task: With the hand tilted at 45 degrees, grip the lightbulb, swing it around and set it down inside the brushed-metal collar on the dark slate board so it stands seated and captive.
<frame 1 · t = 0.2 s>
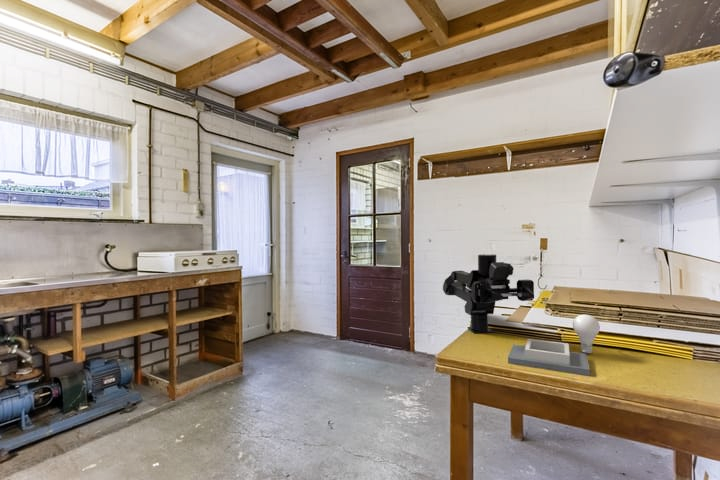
hand: (518, 297, 94), 17 cm above the workbench, tool horizontal, fingers open, 9 cm apart
lightbulb: (586, 354, 95), on the workbench
holder: (547, 361, 90), on the workbench
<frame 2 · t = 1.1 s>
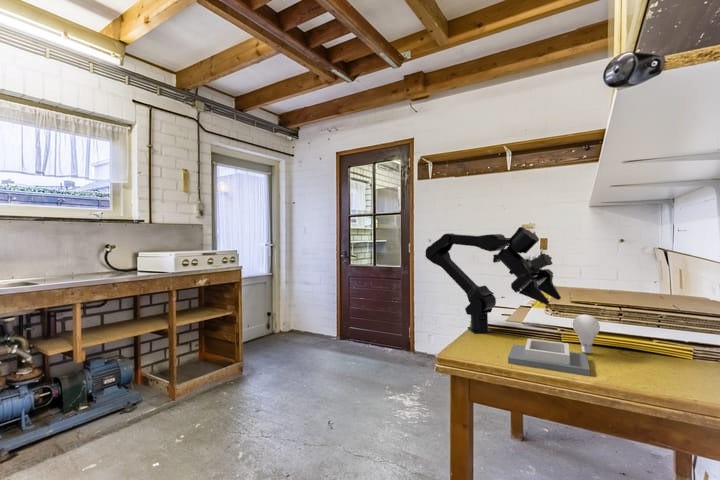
hand: (554, 301, 100), 14 cm above the workbench, tool tilted 45°, fingers open, 9 cm apart
nothing on the workbench moved.
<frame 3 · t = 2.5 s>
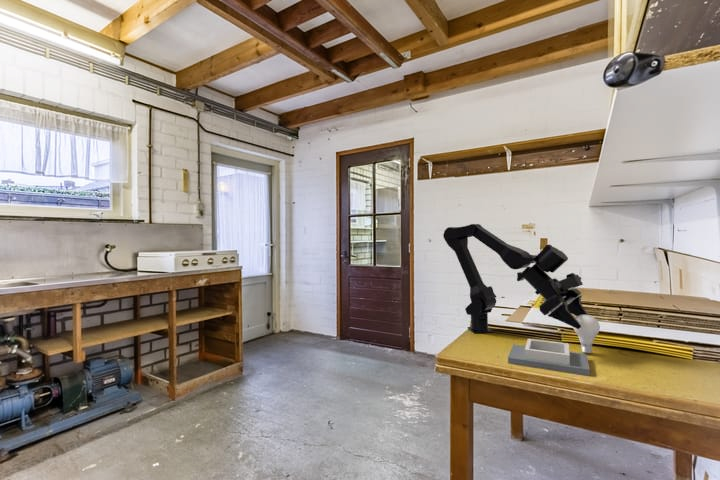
hand: (584, 324, 95), 8 cm above the workbench, tool tilted 45°, fingers open, 9 cm apart
nothing on the workbench moved.
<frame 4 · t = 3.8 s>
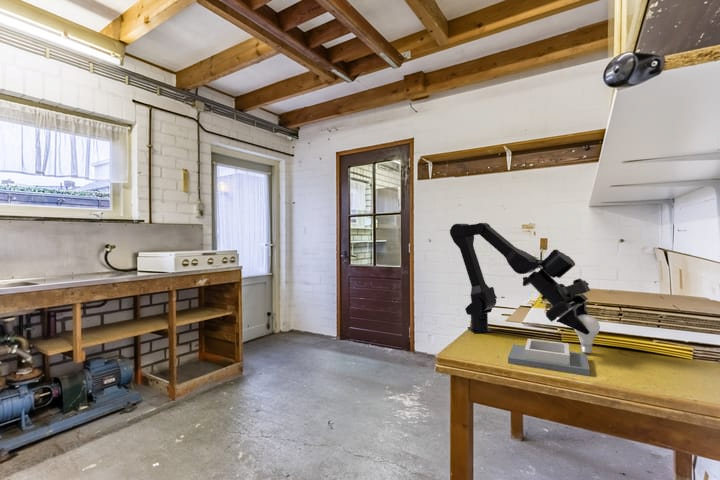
hand: (591, 331, 94), 7 cm above the workbench, tool tilted 45°, fingers closed on lightbulb, 6 cm apart
lightbulb: (586, 354, 95), on the workbench, touching gripper
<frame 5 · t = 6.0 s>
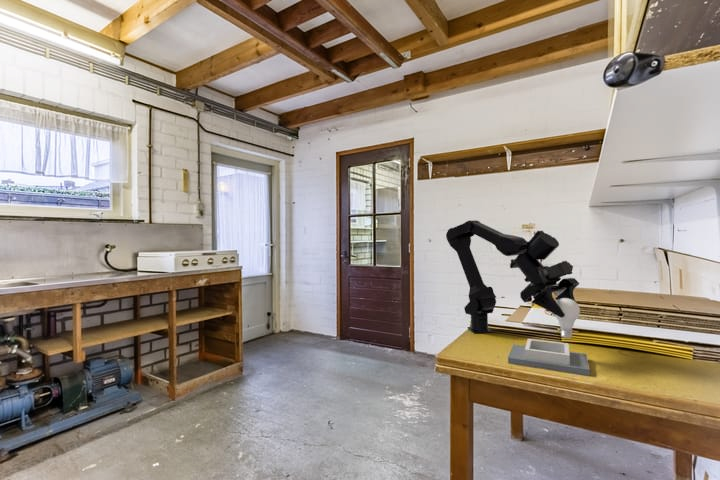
hand: (571, 315, 90), 12 cm above the workbench, tool tilted 45°, fingers closed on lightbulb, 6 cm apart
lightbulb: (566, 338, 91), point 5 cm above the workbench, touching gripper
when the fingers open (9 cm above the workbench, at t = 8.3 s): lightbulb stays where it is, resting on holder.
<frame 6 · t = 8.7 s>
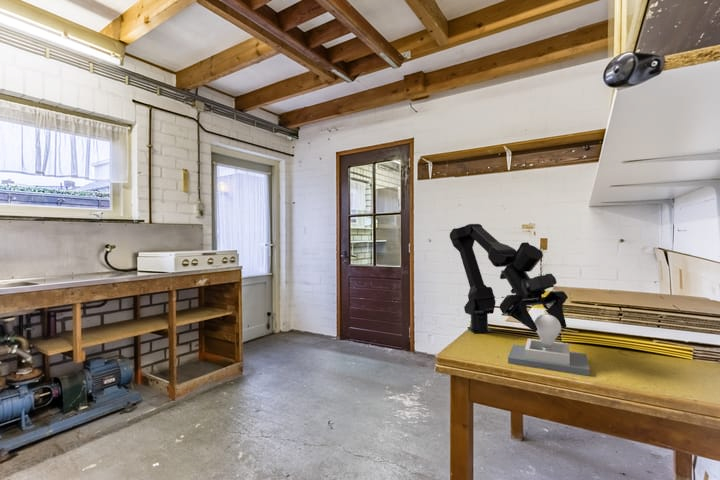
hand: (550, 329, 88), 9 cm above the workbench, tool tilted 45°, fingers open, 9 cm apart
lightbulb: (547, 356, 90), point 1 cm above the workbench, touching holder
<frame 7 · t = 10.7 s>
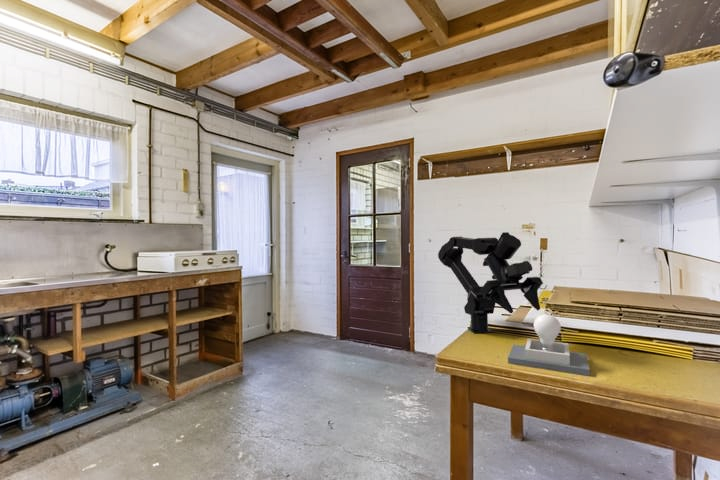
hand: (525, 311, 97), 12 cm above the workbench, tool tilted 45°, fingers open, 9 cm apart
nothing on the workbench moved.
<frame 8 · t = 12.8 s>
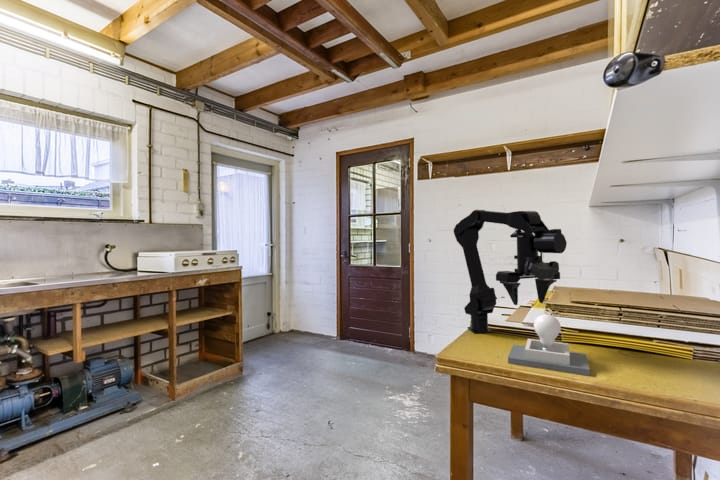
hand: (528, 303, 102), 13 cm above the workbench, tool pointing down, fingers open, 9 cm apart
nothing on the workbench moved.
at the end: lightbulb 0.3 cm off-centre on the holder, point 1.3 cm above the holder's base; lightbulb tilted 0°; the gripper is holding nothing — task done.
